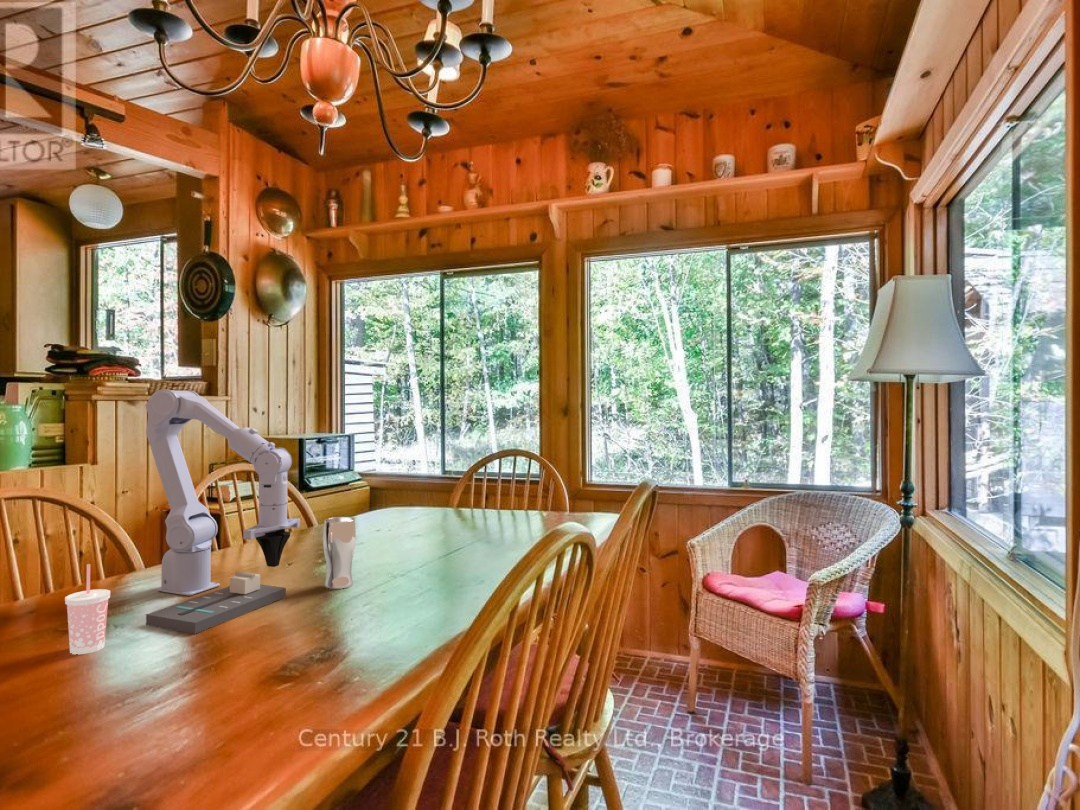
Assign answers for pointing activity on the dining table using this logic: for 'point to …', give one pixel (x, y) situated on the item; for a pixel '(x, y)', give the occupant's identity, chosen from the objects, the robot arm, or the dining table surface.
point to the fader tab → (244, 583)
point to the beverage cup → (87, 618)
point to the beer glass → (339, 551)
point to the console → (212, 609)
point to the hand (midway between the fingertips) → (272, 565)
